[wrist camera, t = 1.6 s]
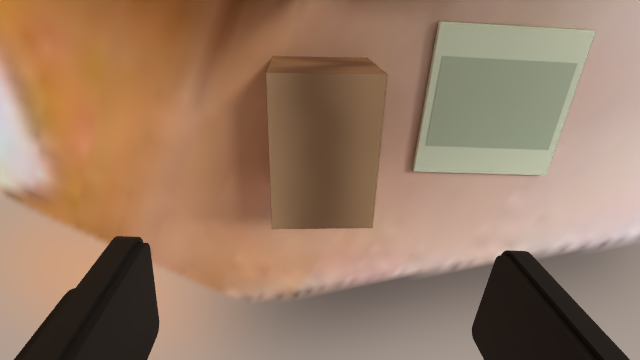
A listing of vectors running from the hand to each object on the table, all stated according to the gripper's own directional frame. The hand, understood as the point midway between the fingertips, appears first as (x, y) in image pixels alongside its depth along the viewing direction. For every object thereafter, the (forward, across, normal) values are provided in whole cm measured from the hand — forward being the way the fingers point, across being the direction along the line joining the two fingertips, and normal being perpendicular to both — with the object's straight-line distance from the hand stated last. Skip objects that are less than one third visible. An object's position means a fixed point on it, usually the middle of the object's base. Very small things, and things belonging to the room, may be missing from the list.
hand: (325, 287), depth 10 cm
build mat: (+17, -13, -2) cm, 21 cm away
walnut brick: (+17, -1, +1) cm, 17 cm away
